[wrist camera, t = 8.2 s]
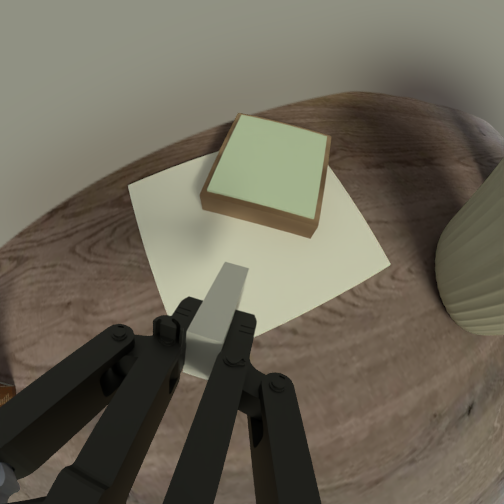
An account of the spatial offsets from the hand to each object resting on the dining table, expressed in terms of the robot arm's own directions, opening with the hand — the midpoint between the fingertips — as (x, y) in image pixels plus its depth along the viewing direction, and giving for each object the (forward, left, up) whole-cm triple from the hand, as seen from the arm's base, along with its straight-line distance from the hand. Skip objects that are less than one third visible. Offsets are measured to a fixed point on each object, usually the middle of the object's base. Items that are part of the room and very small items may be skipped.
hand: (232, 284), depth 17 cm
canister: (-25, +10, -6) cm, 27 cm away
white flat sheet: (-5, -6, -6) cm, 9 cm away
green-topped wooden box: (-5, -5, -4) cm, 8 cm away
